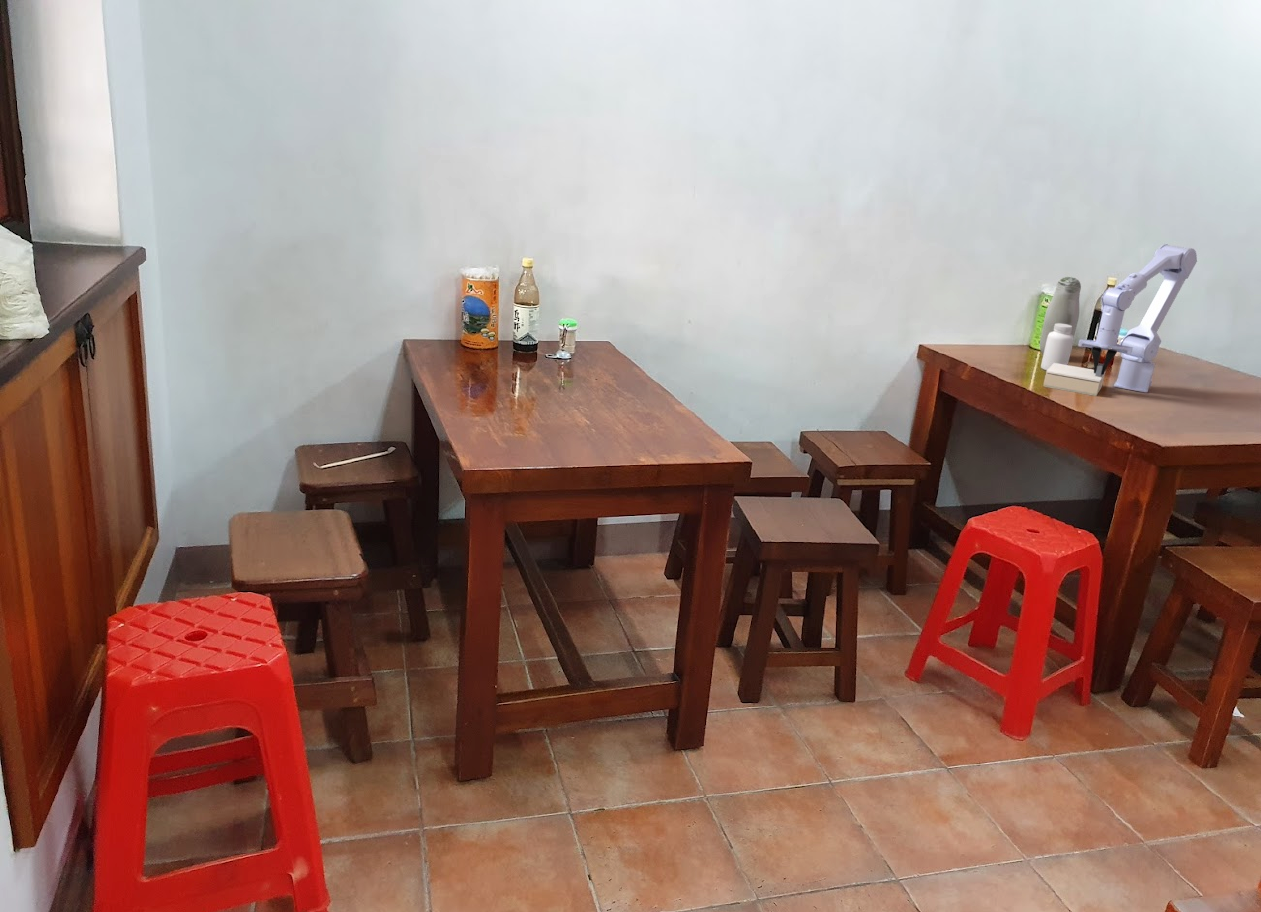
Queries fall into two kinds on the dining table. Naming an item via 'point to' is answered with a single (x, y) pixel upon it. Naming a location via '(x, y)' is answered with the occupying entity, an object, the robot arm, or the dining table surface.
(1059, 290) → the gray tapered bottle
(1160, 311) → the robot arm
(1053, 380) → the beige open box
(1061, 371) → the lid
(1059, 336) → the pill bottle
